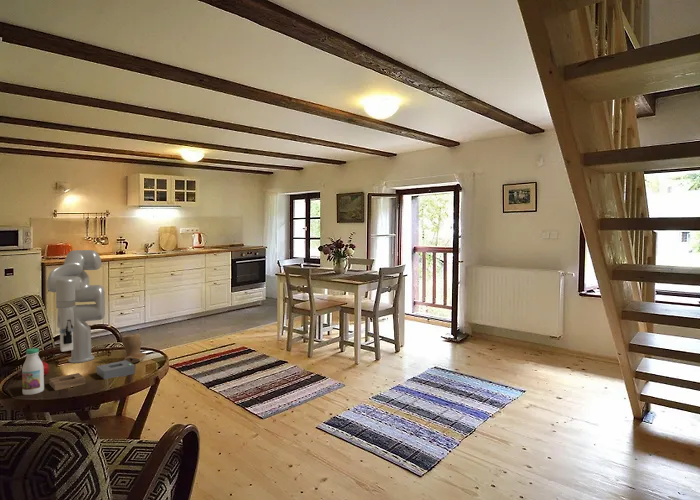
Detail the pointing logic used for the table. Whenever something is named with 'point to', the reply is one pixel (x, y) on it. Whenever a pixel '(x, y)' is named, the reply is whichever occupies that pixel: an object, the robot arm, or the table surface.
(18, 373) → the table surface
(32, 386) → the milk bottle
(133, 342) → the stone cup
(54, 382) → the slotted socket block
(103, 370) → the port block
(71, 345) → the plug
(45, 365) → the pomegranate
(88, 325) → the robot arm
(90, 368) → the table surface
